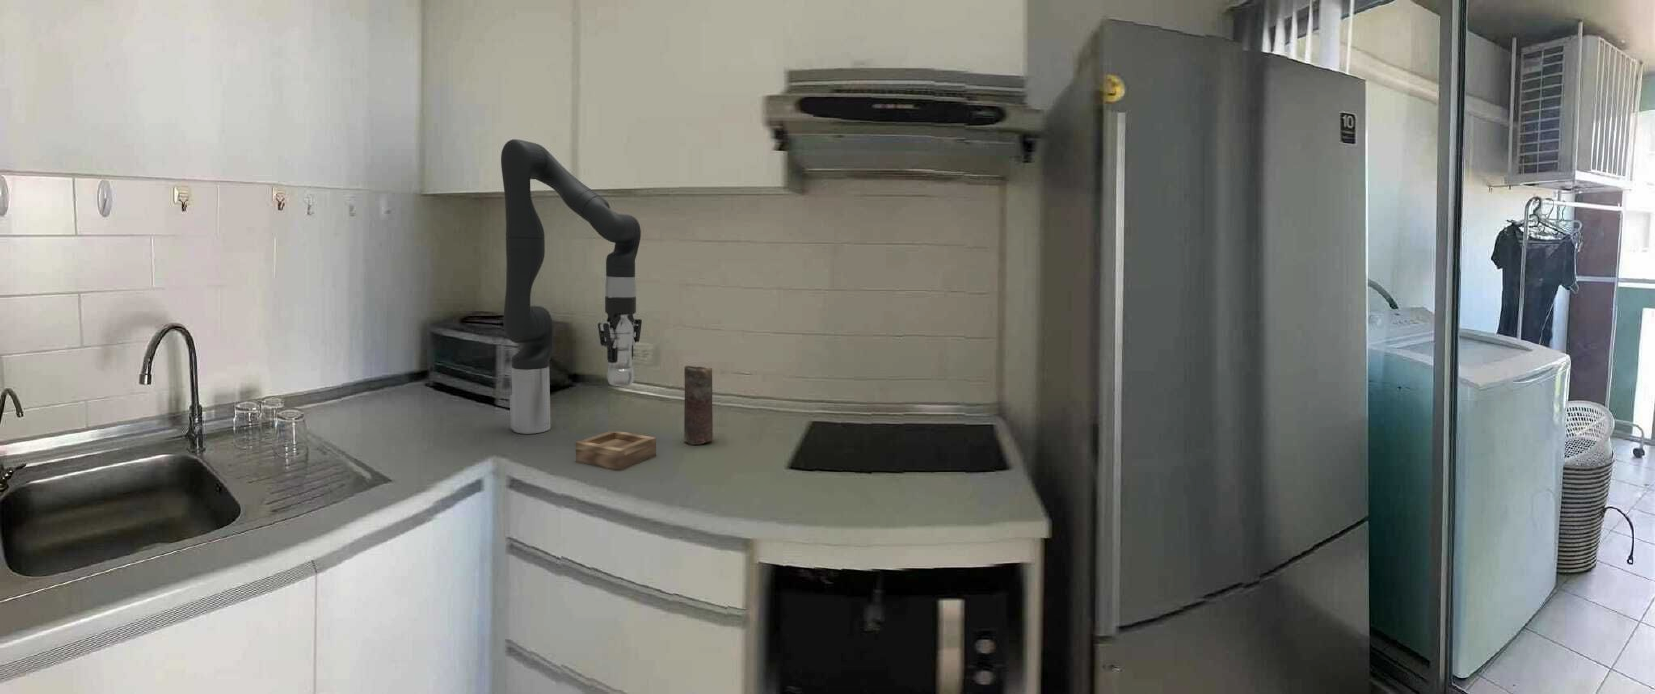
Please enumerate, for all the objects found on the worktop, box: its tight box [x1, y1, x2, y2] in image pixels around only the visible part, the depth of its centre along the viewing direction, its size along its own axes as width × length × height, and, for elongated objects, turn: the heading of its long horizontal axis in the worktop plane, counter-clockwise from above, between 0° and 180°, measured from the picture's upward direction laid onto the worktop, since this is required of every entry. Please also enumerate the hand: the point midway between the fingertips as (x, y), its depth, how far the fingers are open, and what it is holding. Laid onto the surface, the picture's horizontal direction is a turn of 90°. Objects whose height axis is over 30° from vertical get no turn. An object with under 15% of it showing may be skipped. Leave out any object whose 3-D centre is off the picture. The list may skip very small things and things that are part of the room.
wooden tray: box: [575, 429, 657, 471], centre depth 166 cm, size 13×13×4 cm
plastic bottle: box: [606, 315, 635, 387], centre depth 178 cm, size 6×7×20 cm
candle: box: [683, 365, 714, 446], centre depth 182 cm, size 8×7×20 cm
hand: (620, 360), depth 178 cm, fingers closed on plastic bottle, 5 cm apart
